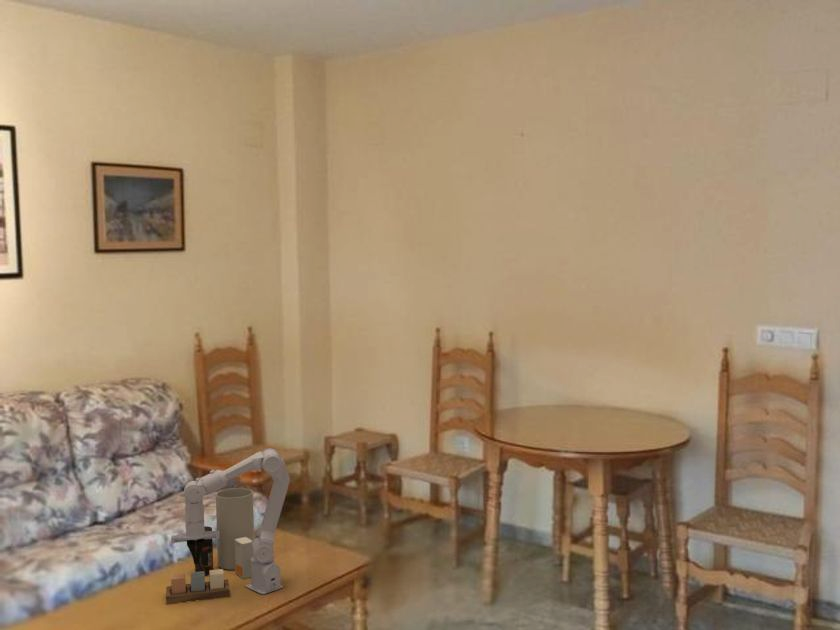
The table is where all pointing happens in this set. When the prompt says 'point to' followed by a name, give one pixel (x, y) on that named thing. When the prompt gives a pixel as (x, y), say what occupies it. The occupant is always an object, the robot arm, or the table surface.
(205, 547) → the deodorant
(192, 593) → the socket board
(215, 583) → the cream key
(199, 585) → the slate blue key
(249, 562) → the skincare box
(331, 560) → the table surface
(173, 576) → the terracotta key
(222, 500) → the cylinder vase
